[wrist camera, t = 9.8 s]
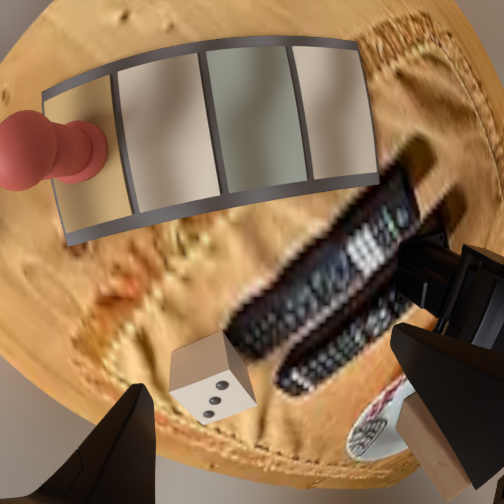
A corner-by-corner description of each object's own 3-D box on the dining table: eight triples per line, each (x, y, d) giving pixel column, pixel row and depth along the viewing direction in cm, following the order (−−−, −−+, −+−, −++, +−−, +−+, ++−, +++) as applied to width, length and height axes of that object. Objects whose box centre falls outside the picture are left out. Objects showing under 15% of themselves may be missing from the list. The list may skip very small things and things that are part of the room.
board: (350, 45, 16) (358, 40, 15) (372, 182, 21) (380, 184, 19) (47, 94, 13) (40, 91, 12) (73, 242, 18) (67, 247, 16)
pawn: (103, 115, 14) (31, 83, 6) (112, 171, 16) (40, 182, 7) (54, 135, 14) (-31, 126, 5) (63, 189, 15) (-21, 214, 7)
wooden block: (402, 399, 33) (468, 486, 14) (447, 370, 34) (515, 440, 15) (394, 428, 36) (445, 503, 18) (435, 402, 37) (489, 467, 19)
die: (222, 329, 22) (229, 370, 18) (246, 366, 24) (257, 406, 19) (171, 351, 22) (168, 393, 17) (200, 385, 24) (203, 425, 19)
